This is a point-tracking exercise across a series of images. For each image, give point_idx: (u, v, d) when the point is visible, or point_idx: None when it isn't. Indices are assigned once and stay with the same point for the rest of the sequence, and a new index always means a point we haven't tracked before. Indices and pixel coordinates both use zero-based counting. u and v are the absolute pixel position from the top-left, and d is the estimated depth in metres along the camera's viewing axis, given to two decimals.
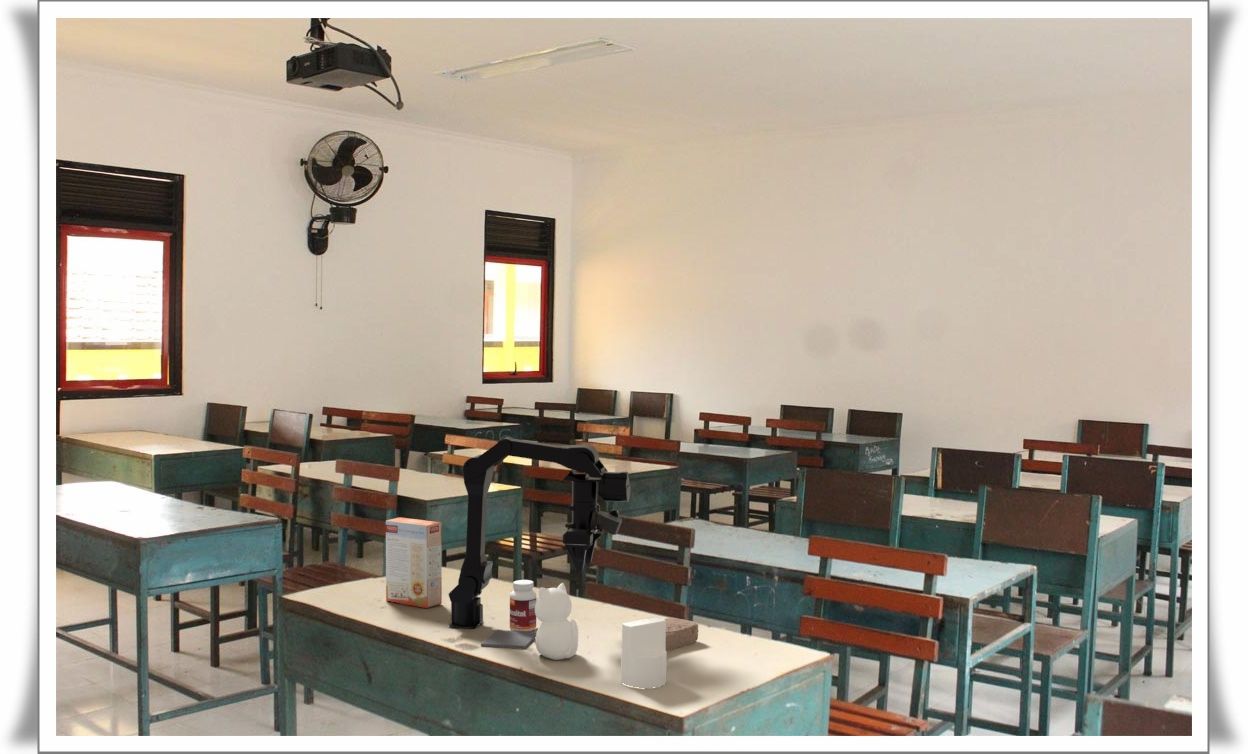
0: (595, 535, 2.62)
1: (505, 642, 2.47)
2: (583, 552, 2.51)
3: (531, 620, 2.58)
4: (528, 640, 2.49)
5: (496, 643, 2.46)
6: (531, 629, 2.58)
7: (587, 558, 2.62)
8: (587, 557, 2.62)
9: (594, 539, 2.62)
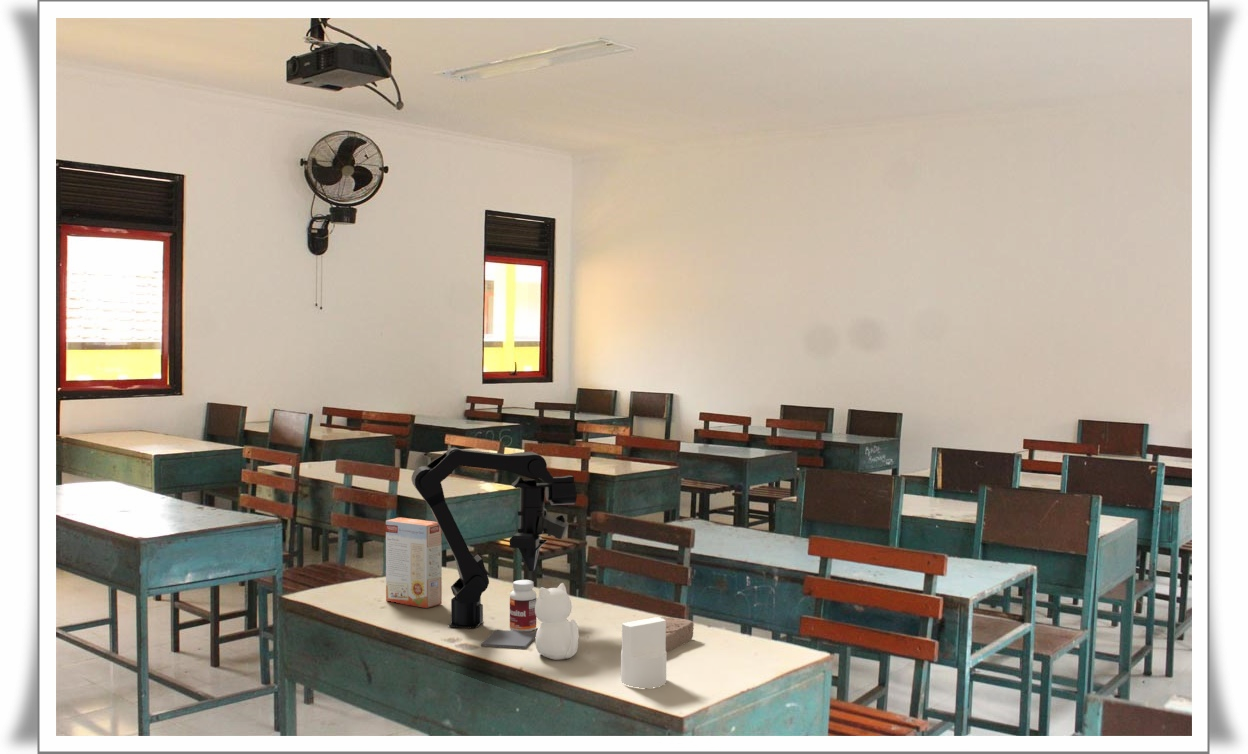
0: (539, 543, 2.67)
1: (505, 642, 2.47)
2: (534, 552, 2.65)
3: (531, 620, 2.58)
4: (528, 640, 2.49)
5: (496, 643, 2.46)
6: (531, 629, 2.58)
7: None
8: None
9: None
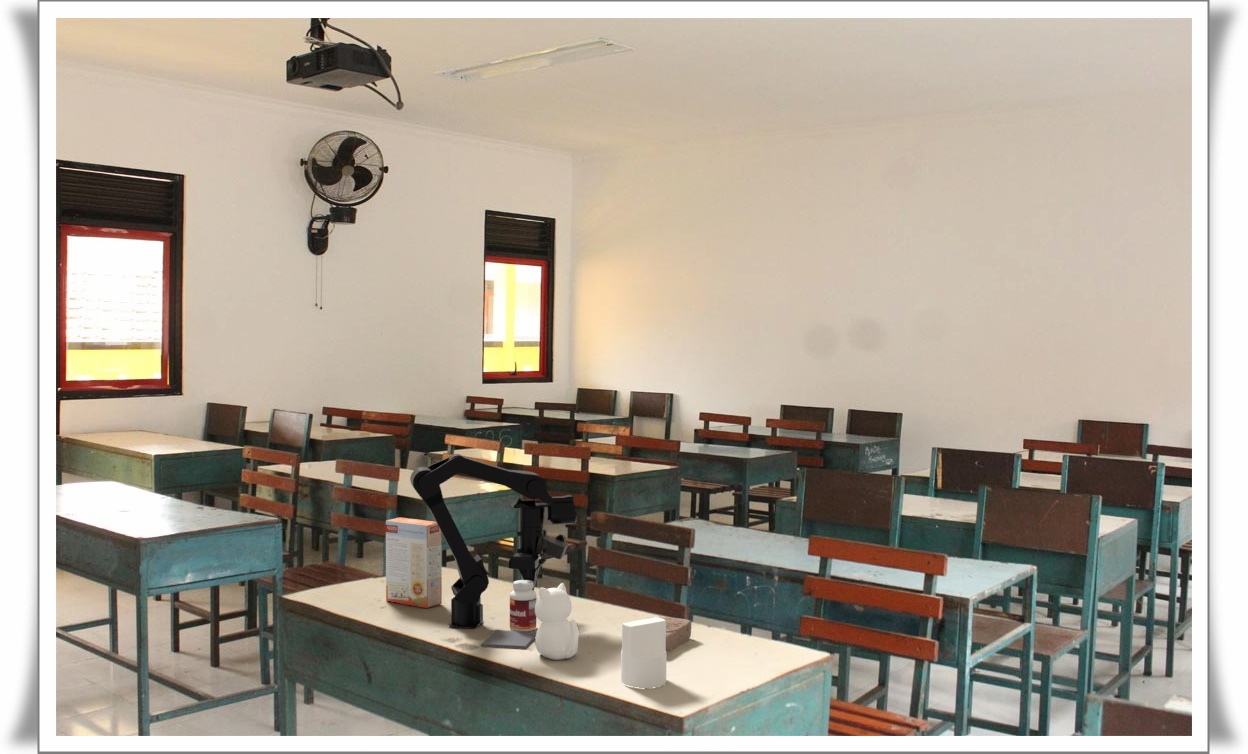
0: (538, 563, 2.67)
1: (505, 642, 2.47)
2: (533, 572, 2.65)
3: (531, 620, 2.58)
4: (528, 640, 2.49)
5: (496, 643, 2.46)
6: (531, 629, 2.58)
7: None
8: None
9: None
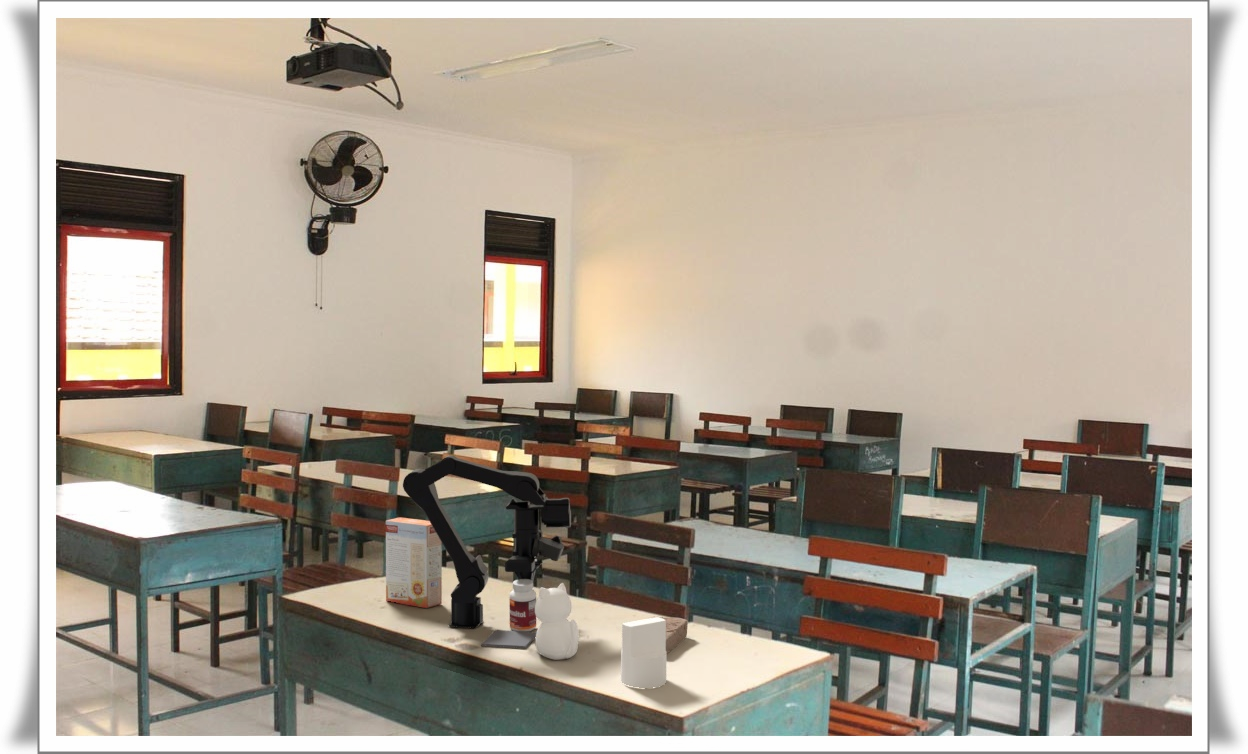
0: (534, 565, 2.63)
1: (505, 642, 2.47)
2: (530, 574, 2.61)
3: (531, 620, 2.57)
4: (528, 640, 2.49)
5: (496, 643, 2.46)
6: (531, 629, 2.58)
7: None
8: None
9: None
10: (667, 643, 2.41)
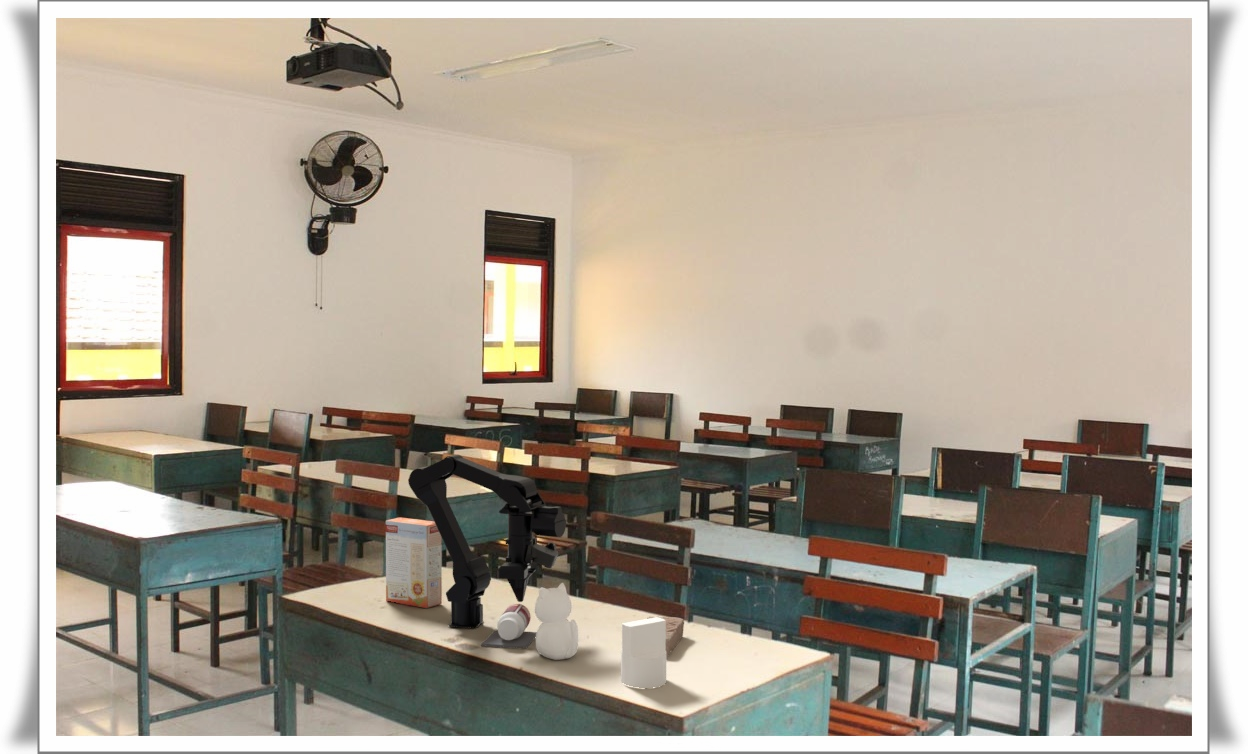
0: (528, 572, 2.57)
1: (505, 642, 2.47)
2: (523, 582, 2.55)
3: None
4: (528, 640, 2.49)
5: (496, 643, 2.46)
6: (528, 623, 2.56)
7: None
8: None
9: (527, 576, 2.57)
10: (670, 643, 2.41)
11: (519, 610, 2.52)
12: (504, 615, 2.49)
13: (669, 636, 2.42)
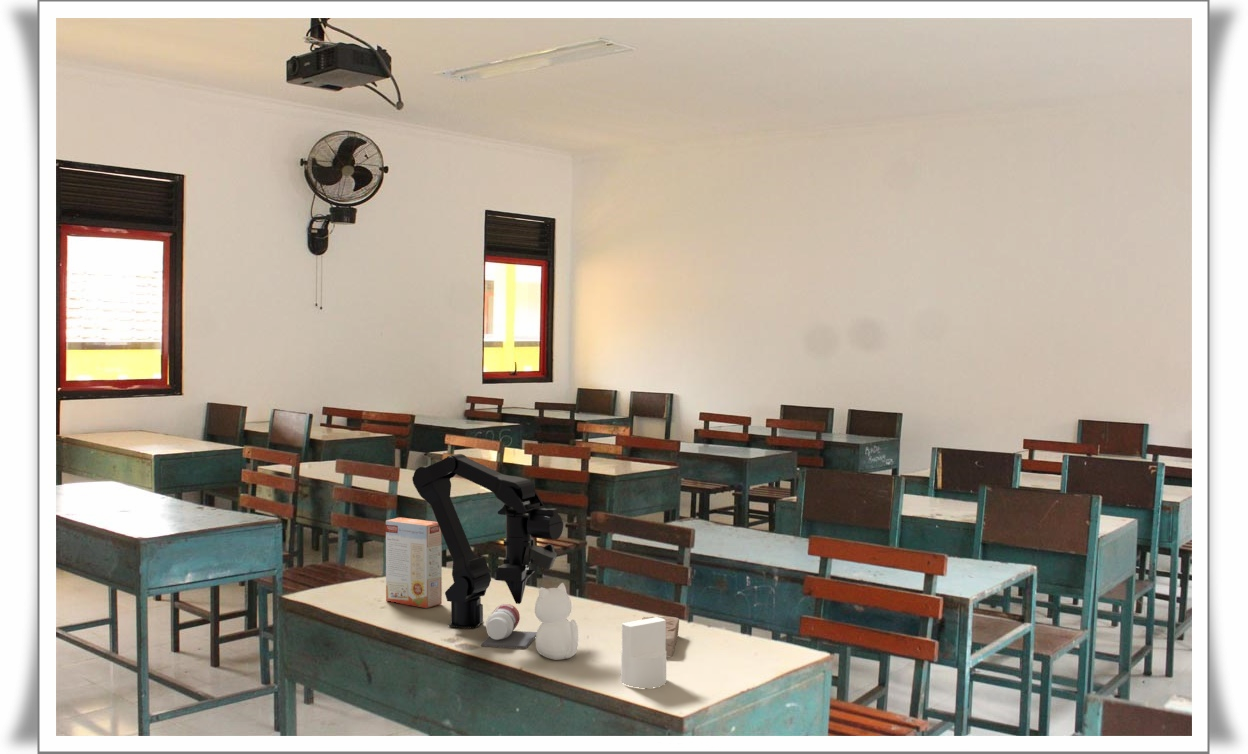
0: (526, 574, 2.56)
1: (505, 642, 2.47)
2: (521, 583, 2.53)
3: (517, 615, 2.54)
4: (528, 640, 2.49)
5: (496, 643, 2.46)
6: (518, 612, 2.56)
7: None
8: None
9: (525, 578, 2.56)
10: None
11: (498, 608, 2.52)
12: (487, 622, 2.49)
13: (672, 636, 2.42)
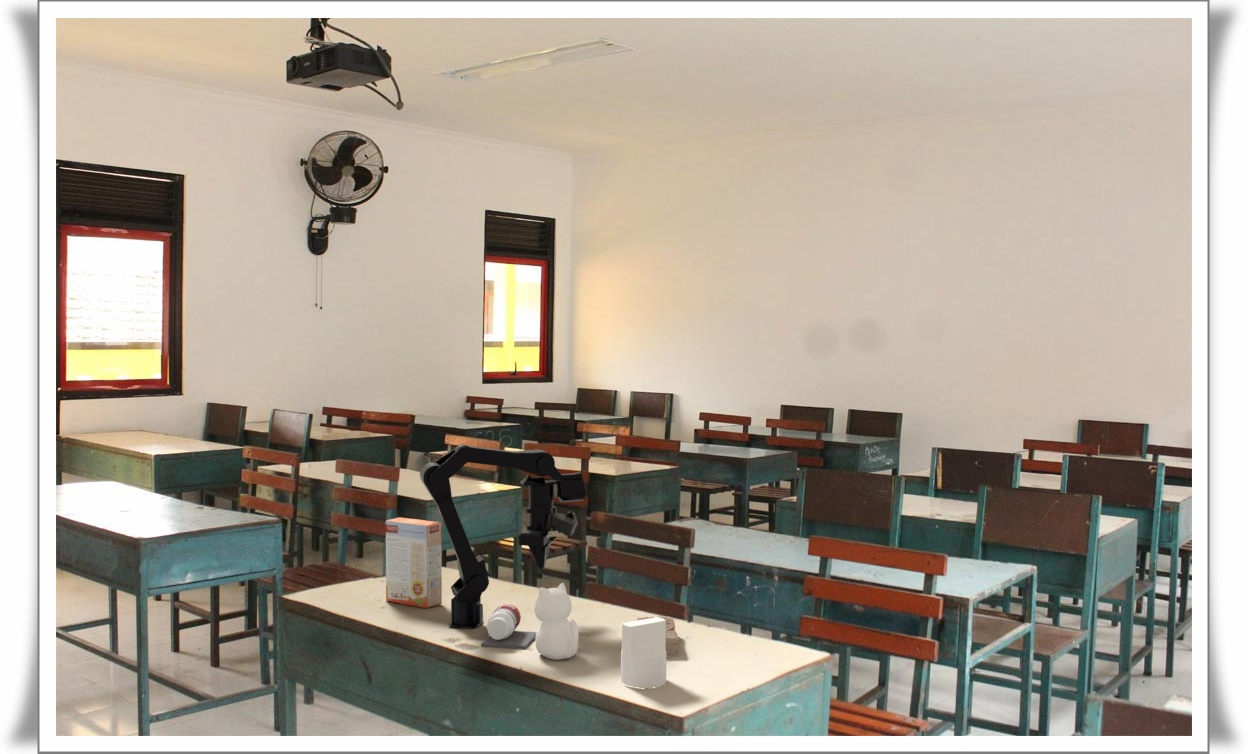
0: (548, 540, 2.68)
1: (505, 642, 2.47)
2: (543, 549, 2.66)
3: (518, 616, 2.54)
4: (528, 640, 2.49)
5: (496, 643, 2.46)
6: None
7: None
8: None
9: None
10: None
11: (500, 608, 2.52)
12: (488, 621, 2.49)
13: (675, 635, 2.42)
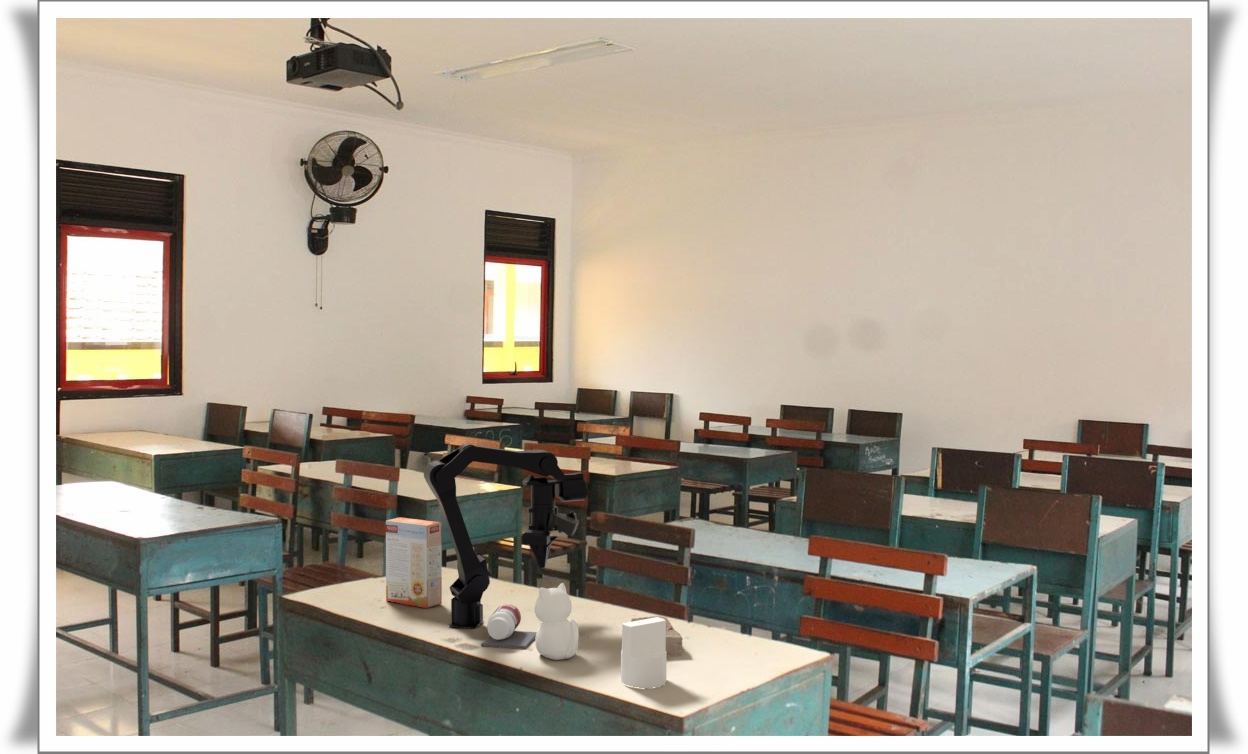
0: (550, 539, 2.70)
1: (505, 642, 2.47)
2: (545, 548, 2.67)
3: (518, 616, 2.54)
4: (528, 640, 2.49)
5: (496, 643, 2.46)
6: (520, 614, 2.56)
7: None
8: None
9: (549, 543, 2.70)
10: None
11: (500, 608, 2.52)
12: (488, 621, 2.49)
13: (678, 634, 2.43)
